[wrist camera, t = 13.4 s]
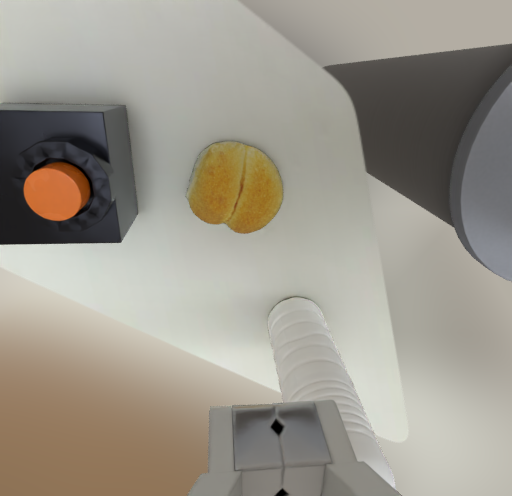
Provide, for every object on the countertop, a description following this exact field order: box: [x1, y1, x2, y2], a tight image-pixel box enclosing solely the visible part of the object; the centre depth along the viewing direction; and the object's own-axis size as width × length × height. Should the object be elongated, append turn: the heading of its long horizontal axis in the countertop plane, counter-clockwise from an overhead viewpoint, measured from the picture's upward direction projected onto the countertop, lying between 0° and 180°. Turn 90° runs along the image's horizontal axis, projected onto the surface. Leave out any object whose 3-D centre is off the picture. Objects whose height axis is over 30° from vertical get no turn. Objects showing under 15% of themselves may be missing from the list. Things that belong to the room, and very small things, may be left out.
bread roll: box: [185, 141, 283, 234], centre depth 34 cm, size 8×9×4 cm
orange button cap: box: [24, 162, 90, 221], centre depth 25 cm, size 4×4×2 cm
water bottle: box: [268, 297, 396, 490], centre depth 32 cm, size 9×6×25 cm
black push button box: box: [0, 103, 138, 245], centre depth 30 cm, size 10×10×9 cm
